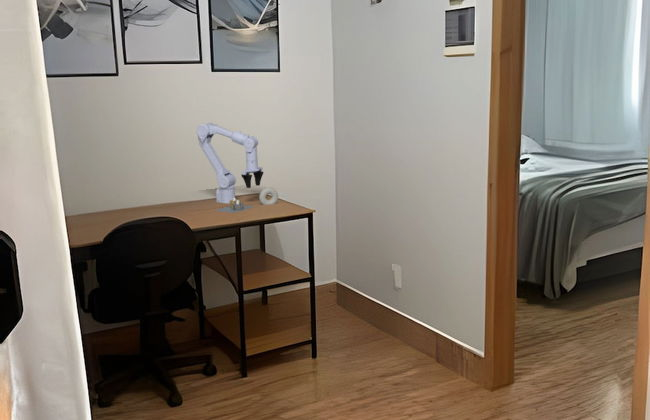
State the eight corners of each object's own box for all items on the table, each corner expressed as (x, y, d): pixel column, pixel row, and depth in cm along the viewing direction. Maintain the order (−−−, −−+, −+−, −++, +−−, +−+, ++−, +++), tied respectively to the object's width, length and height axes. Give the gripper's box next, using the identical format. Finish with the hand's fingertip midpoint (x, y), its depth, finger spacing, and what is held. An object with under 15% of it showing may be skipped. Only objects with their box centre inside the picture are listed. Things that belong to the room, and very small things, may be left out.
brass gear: (227, 207, 317) (227, 200, 317) (234, 205, 322) (234, 198, 321) (236, 208, 314) (235, 201, 314) (243, 206, 319) (242, 199, 318)
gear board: (214, 213, 312) (213, 201, 310) (235, 207, 325) (234, 195, 324) (234, 215, 305) (233, 203, 304) (255, 209, 318) (254, 197, 317)
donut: (277, 205, 328) (276, 186, 326) (279, 206, 324) (278, 187, 322) (258, 206, 324) (257, 187, 322) (260, 208, 321) (259, 188, 319)
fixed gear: (230, 210, 311) (230, 204, 310) (236, 208, 316) (235, 202, 315) (240, 210, 309) (239, 204, 308) (245, 208, 314) (245, 202, 313)
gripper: (249, 162, 315) (250, 189, 318) (266, 159, 327) (267, 184, 330) (238, 162, 319) (239, 188, 322) (255, 158, 331) (257, 184, 334)
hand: (253, 186), depth 326 cm, fingers open, 7 cm apart
